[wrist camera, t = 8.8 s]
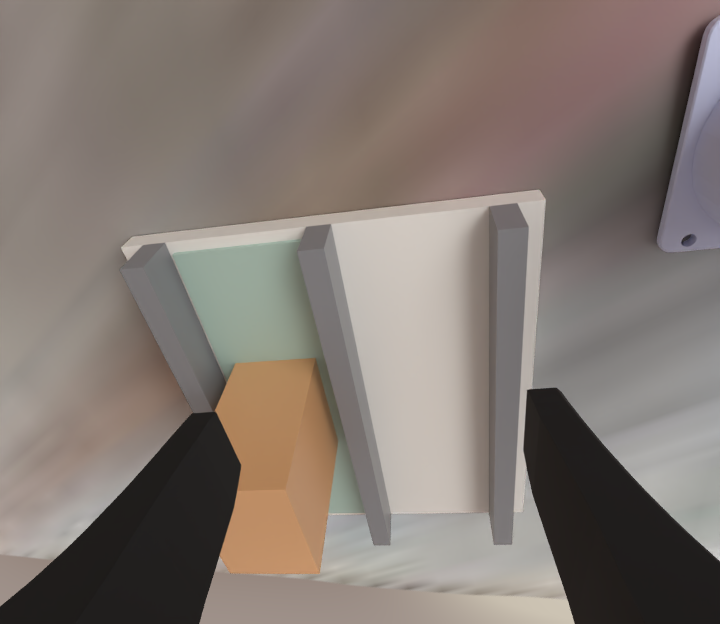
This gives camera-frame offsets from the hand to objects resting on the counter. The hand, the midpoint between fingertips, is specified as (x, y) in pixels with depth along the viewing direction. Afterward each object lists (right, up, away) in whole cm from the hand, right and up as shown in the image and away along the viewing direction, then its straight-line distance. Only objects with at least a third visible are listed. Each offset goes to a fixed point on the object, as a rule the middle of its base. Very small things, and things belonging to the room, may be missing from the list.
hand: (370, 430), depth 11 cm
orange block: (-4, -2, +13) cm, 14 cm away
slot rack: (0, -1, +14) cm, 14 cm away
